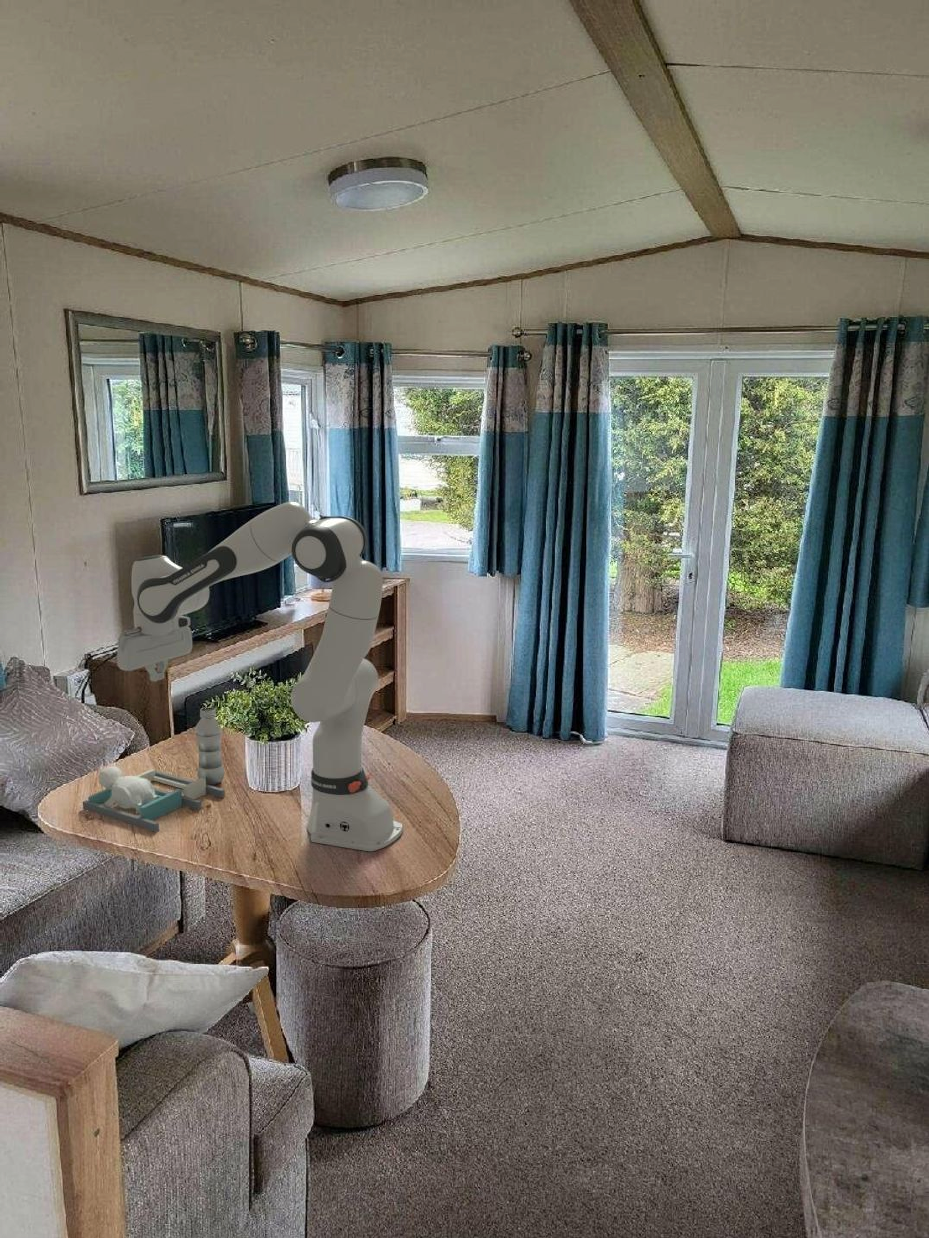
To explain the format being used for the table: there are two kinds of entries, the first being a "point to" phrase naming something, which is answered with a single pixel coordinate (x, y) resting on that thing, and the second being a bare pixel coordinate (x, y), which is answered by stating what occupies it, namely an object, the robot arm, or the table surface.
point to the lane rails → (149, 823)
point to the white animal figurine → (126, 789)
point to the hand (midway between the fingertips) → (157, 679)
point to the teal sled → (150, 809)
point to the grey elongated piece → (179, 784)
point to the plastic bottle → (209, 747)
